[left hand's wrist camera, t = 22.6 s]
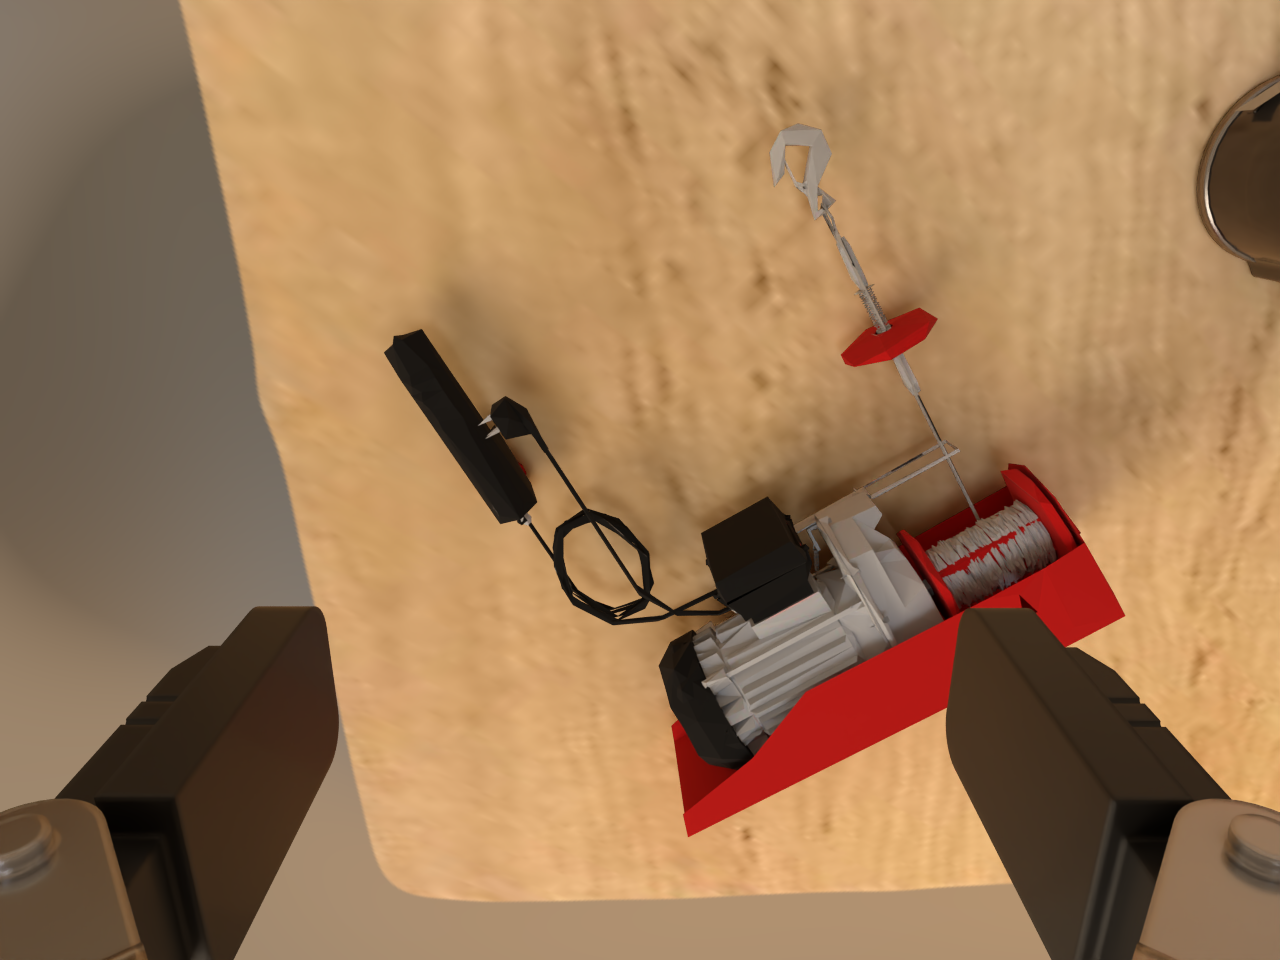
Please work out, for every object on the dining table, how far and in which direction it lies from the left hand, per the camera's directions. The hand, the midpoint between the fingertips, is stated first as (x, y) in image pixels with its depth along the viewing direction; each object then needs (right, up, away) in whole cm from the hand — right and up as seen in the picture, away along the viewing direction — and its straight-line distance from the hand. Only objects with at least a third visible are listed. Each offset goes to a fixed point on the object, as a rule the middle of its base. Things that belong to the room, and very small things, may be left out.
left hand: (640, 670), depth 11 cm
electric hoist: (+6, +5, +40) cm, 40 cm away
